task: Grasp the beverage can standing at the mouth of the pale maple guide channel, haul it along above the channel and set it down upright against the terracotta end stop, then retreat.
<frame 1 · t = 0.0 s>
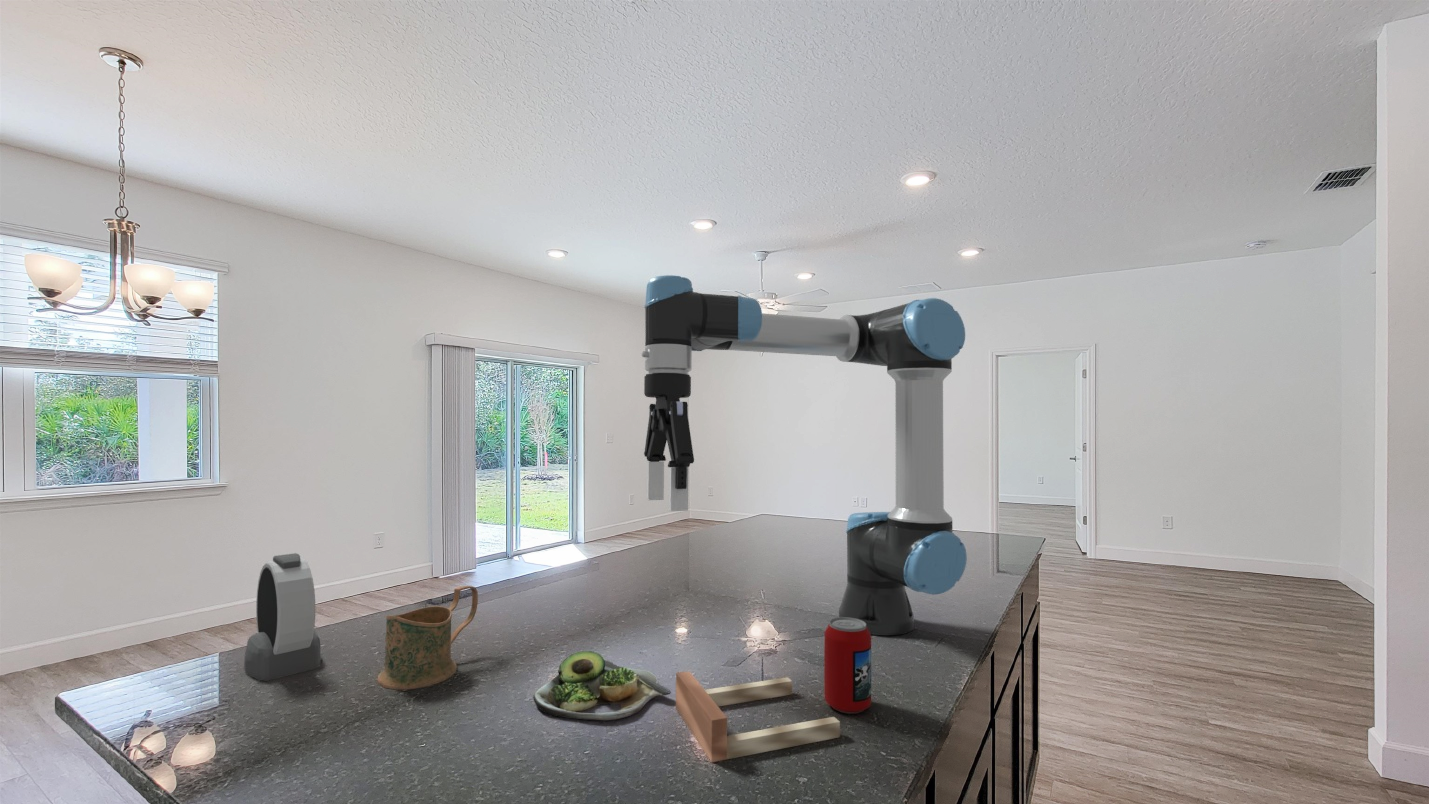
hand: (666, 505, 98), 28 cm above the counter, fingers open, 13 cm apart
beverage can: (847, 706, 89), on the counter
guide channel: (754, 721, 84), on the counter
mug: (433, 668, 102), on the counter
avocado toast plate: (596, 697, 93), on the counter
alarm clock: (282, 664, 103), on the counter
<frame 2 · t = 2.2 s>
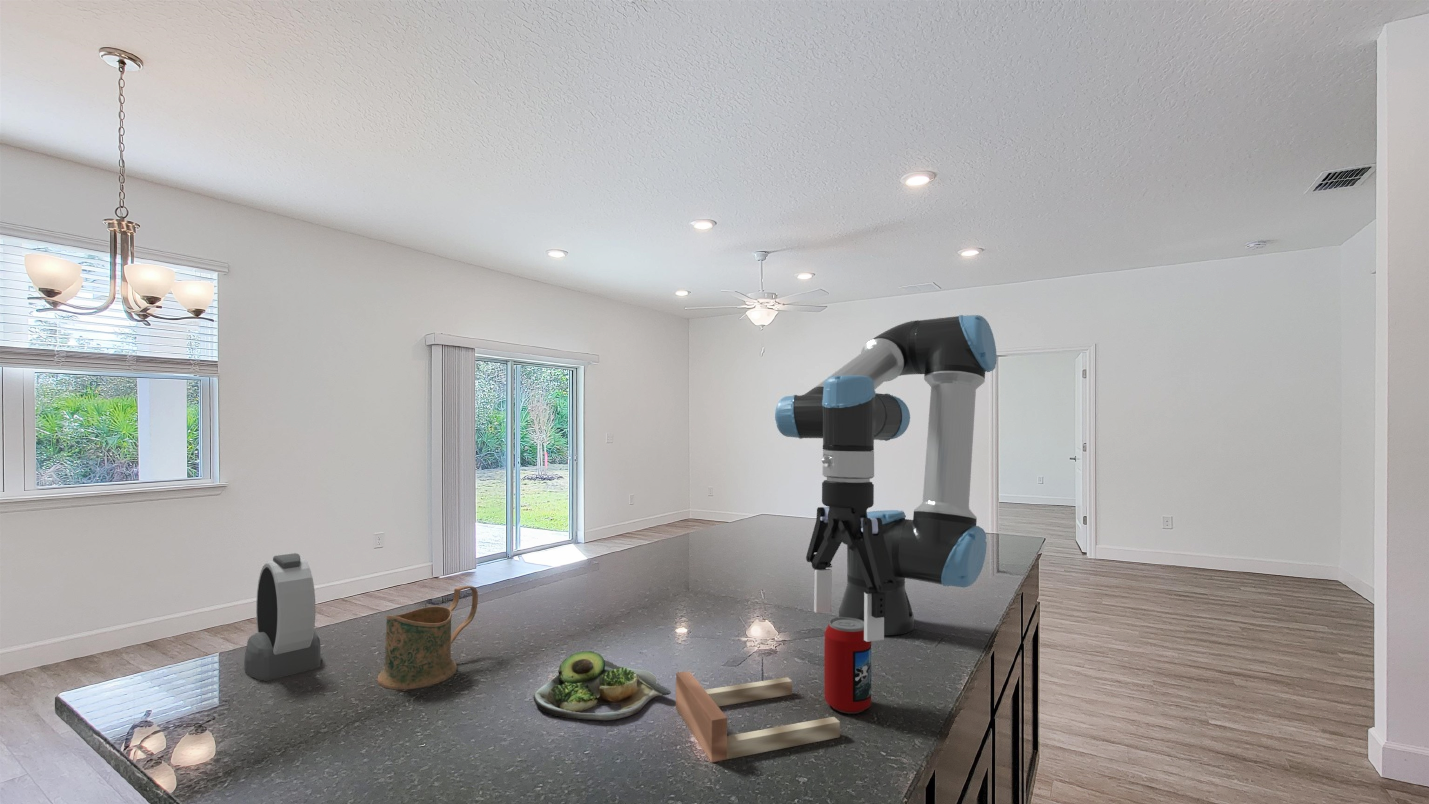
hand: (846, 625, 90), 12 cm above the counter, fingers open, 13 cm apart
nothing on the counter moved.
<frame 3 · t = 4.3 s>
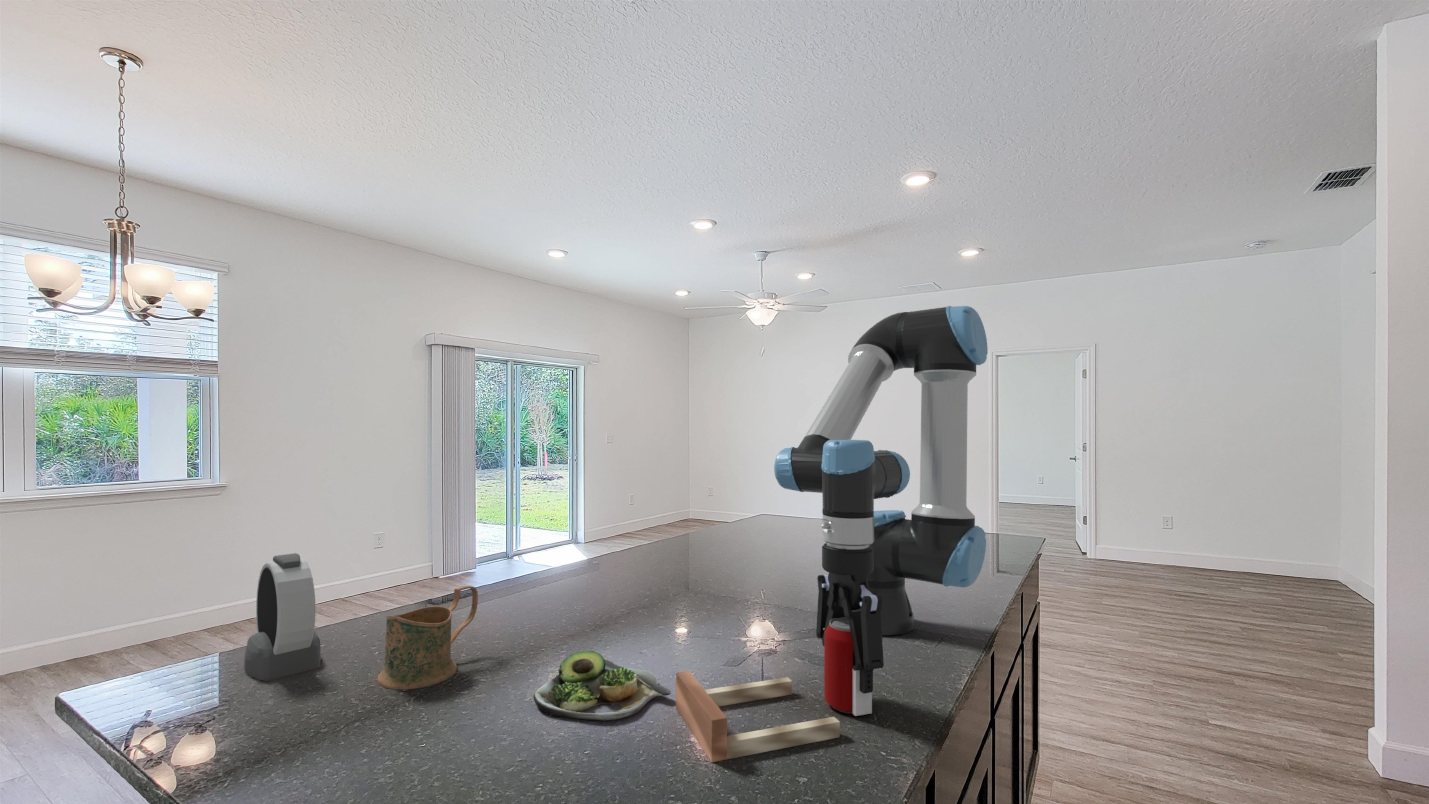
hand: (847, 701, 89), 1 cm above the counter, fingers closed on beverage can, 7 cm apart
beverage can: (847, 706, 89), on the counter, touching gripper
everything else where it was.
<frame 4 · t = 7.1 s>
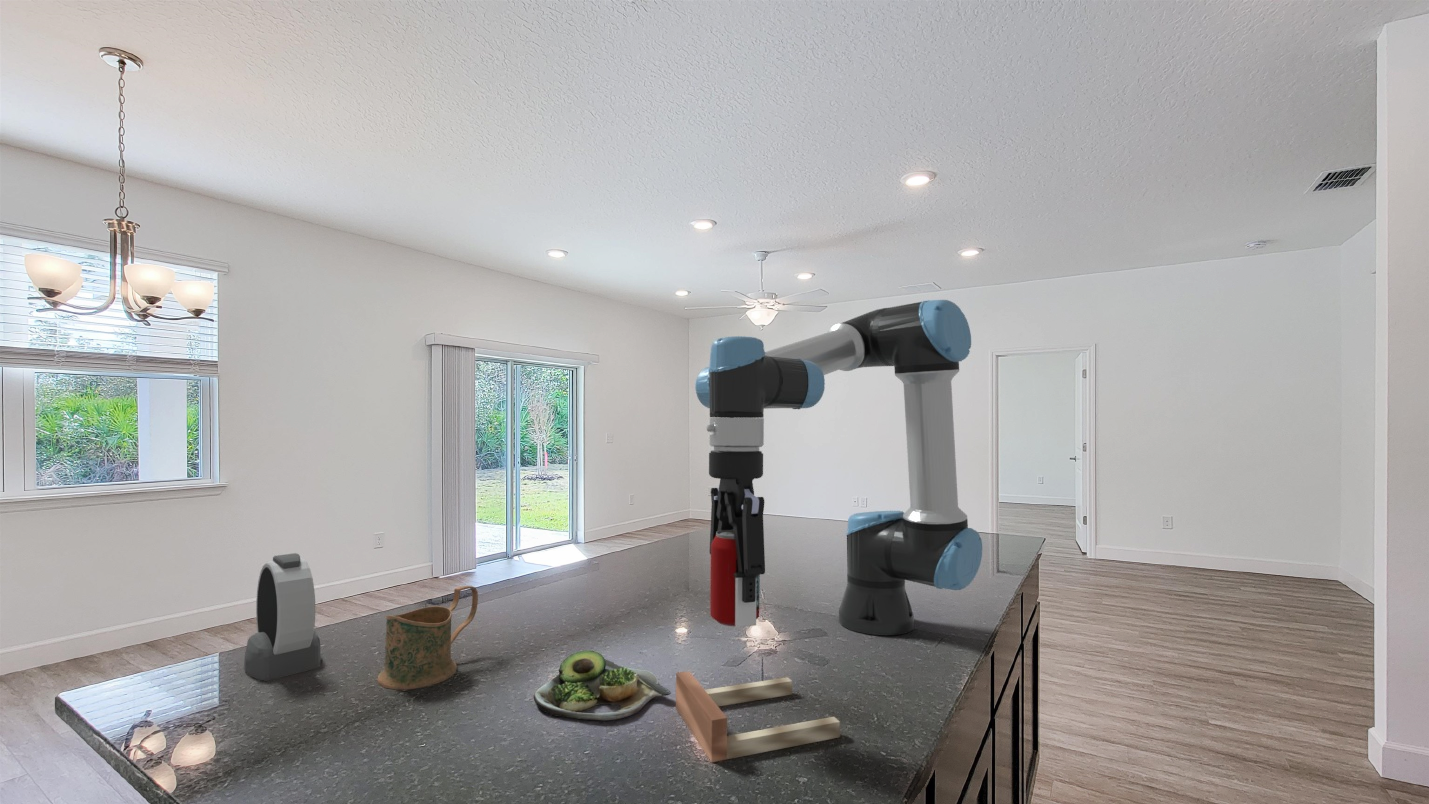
hand: (734, 616, 84), 15 cm above the counter, fingers closed on beverage can, 7 cm apart
beverage can: (734, 622, 84), point 14 cm above the counter, touching gripper
everything else where it was.
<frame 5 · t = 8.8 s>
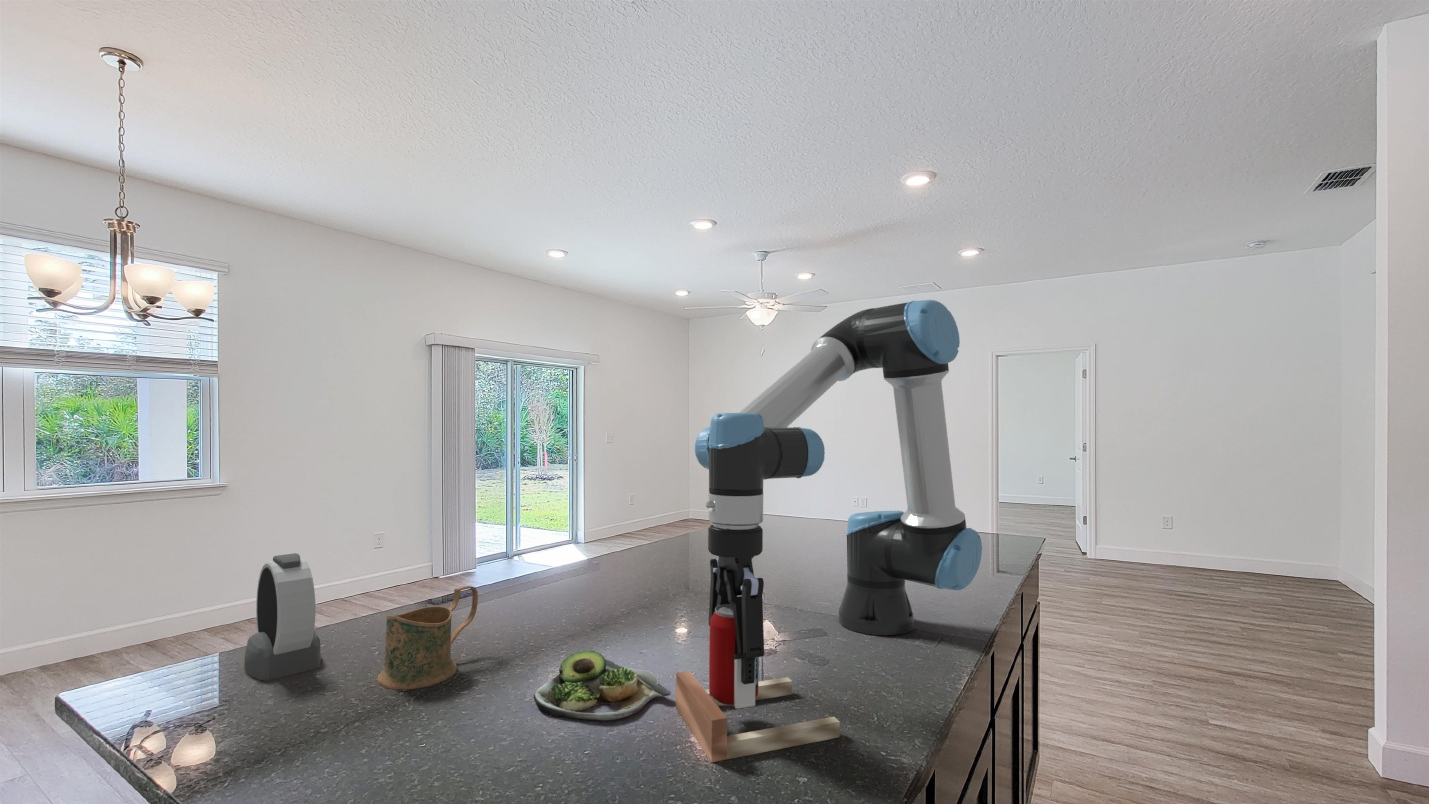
hand: (733, 693, 83), 4 cm above the counter, fingers closed on beverage can, 7 cm apart
beverage can: (733, 699, 83), point 4 cm above the counter, touching gripper
everything else where it was.
when the fingers open (3 cm above the counter, at t = 9.9 s): beverage can drops 2 cm, resting in guide channel.
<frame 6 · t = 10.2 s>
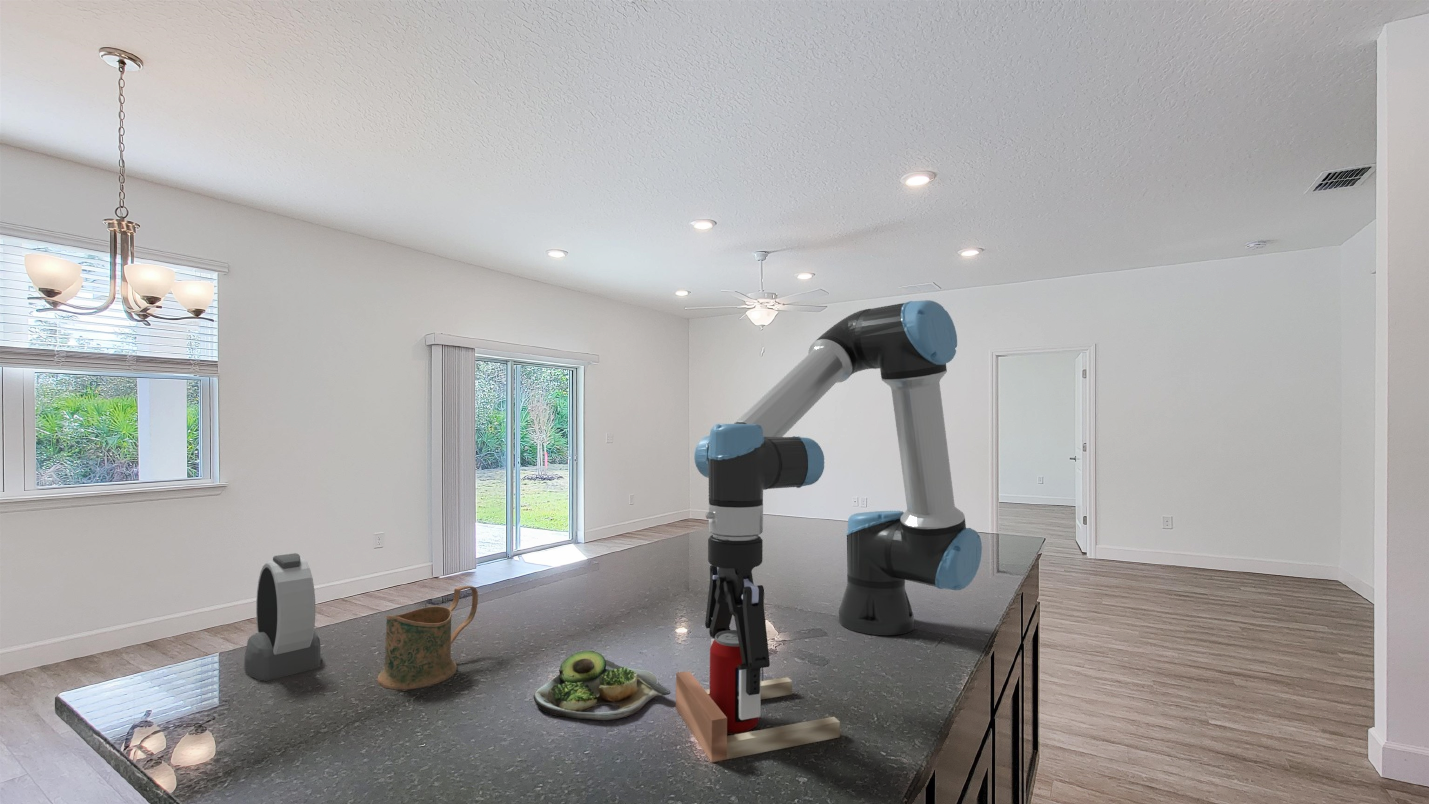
hand: (734, 699, 83), 3 cm above the counter, fingers open, 10 cm apart
beverage can: (734, 726, 83), resting in guide channel
everything else where it was.
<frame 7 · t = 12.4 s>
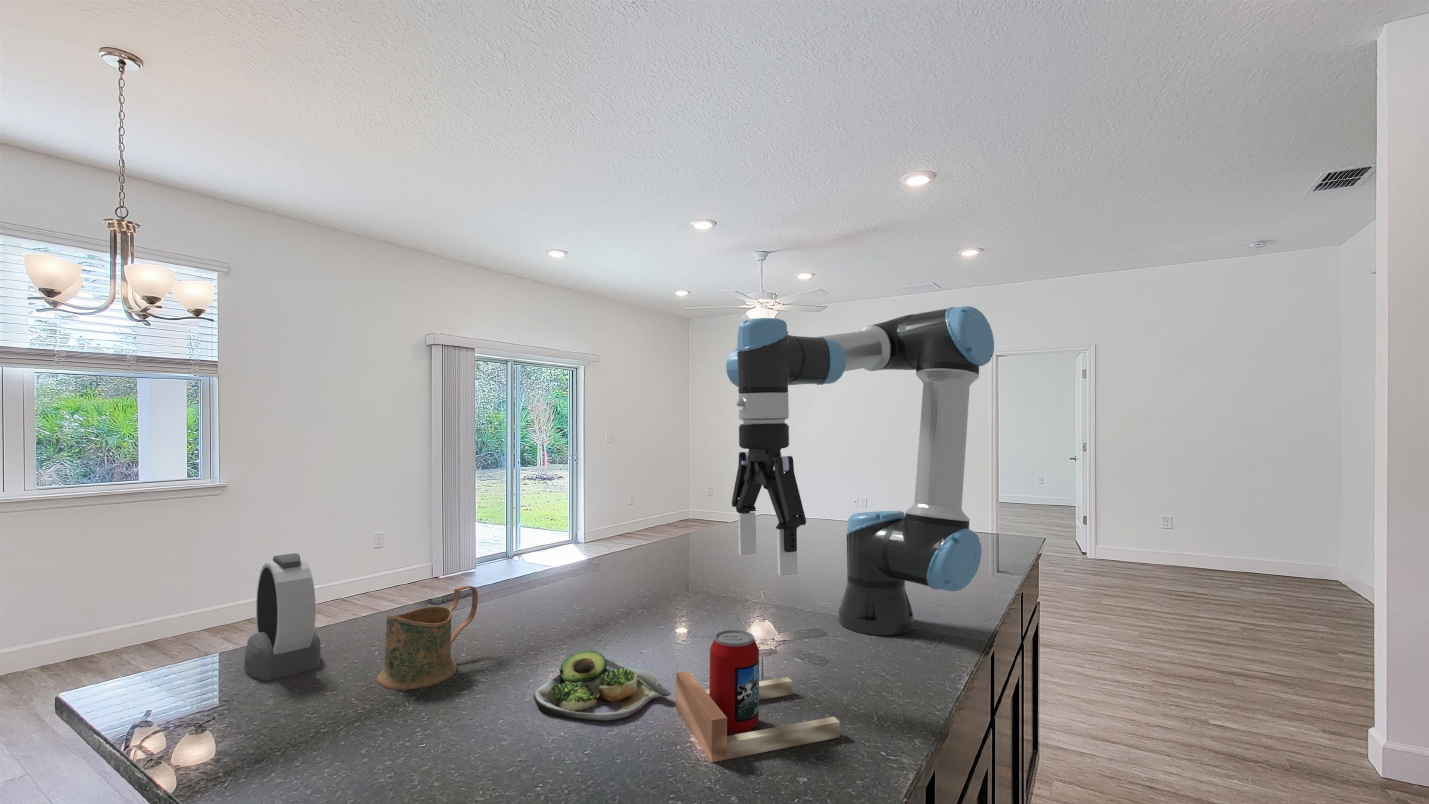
hand: (766, 563, 92), 20 cm above the counter, fingers open, 13 cm apart
nothing on the counter moved.
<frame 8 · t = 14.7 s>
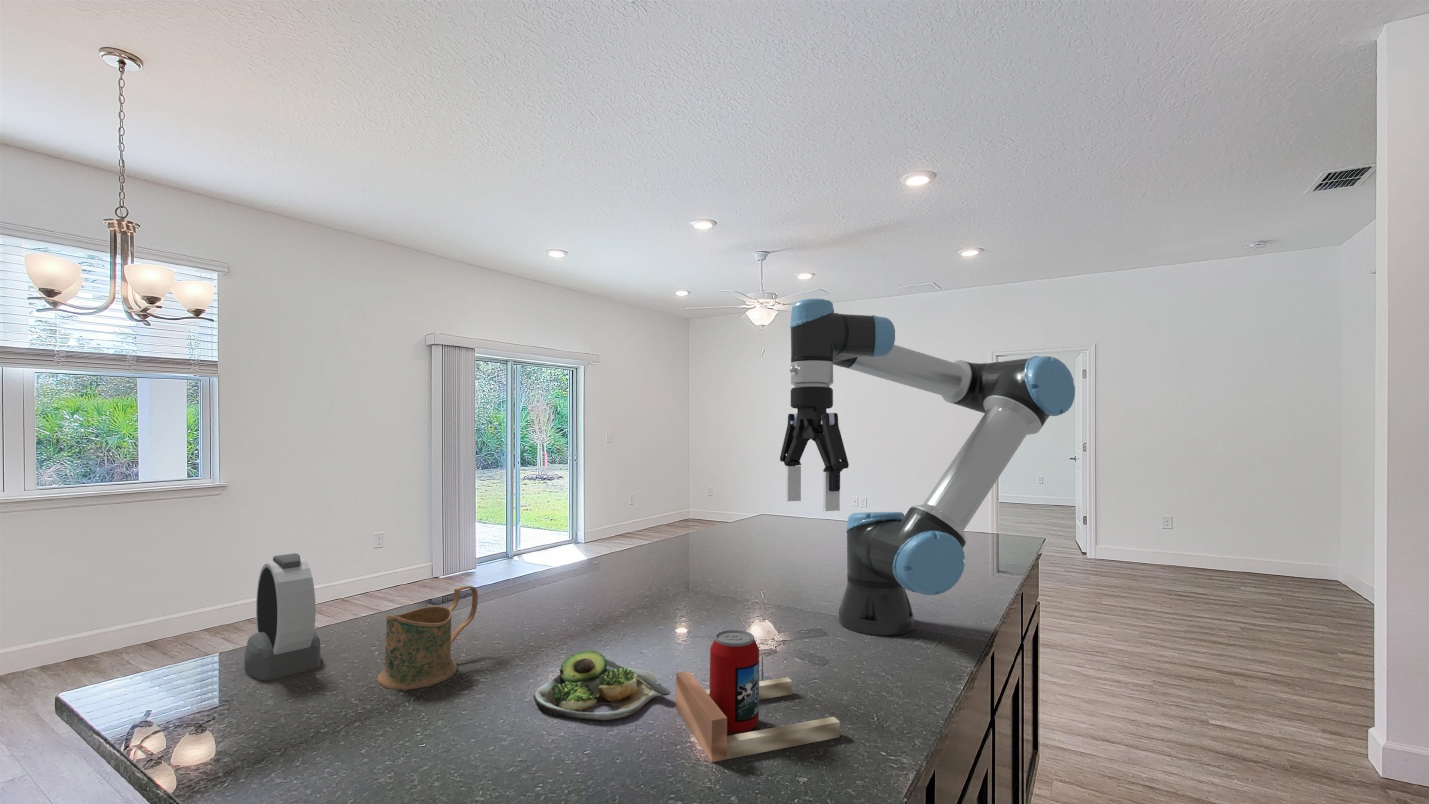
hand: (811, 505, 109), 27 cm above the counter, fingers open, 13 cm apart
nothing on the counter moved.
at the end: beverage can inside the target area (0.0 cm from its centre), resting in guide channel; beverage can tilted 0°; the gripper is holding nothing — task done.
